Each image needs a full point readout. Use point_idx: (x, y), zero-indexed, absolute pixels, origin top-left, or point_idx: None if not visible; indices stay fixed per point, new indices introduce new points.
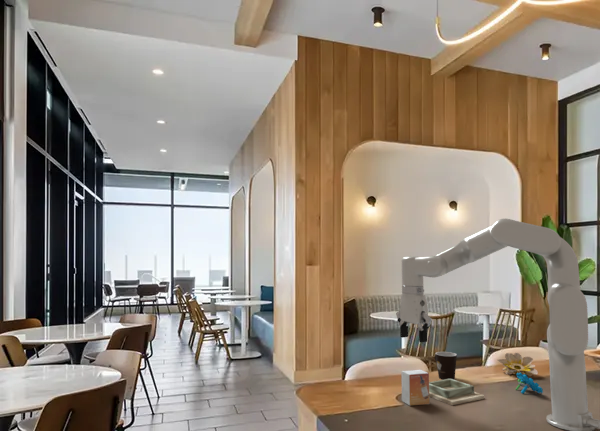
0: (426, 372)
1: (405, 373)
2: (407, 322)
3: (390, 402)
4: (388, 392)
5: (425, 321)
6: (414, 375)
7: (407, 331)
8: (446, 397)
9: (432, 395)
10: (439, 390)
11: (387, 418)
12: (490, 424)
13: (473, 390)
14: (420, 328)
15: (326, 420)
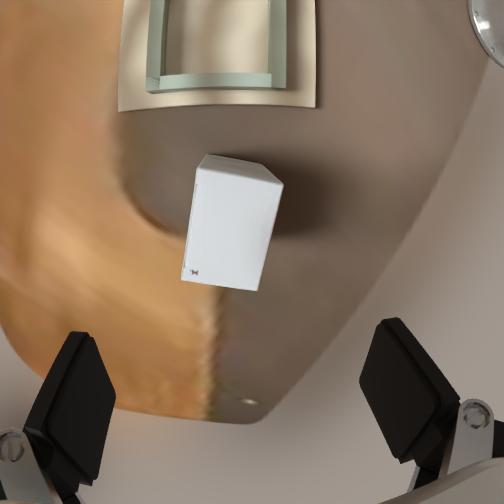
0: (268, 186)
1: (221, 285)
2: (59, 497)
3: None
4: (97, 214)
5: (491, 492)
6: (264, 264)
7: (75, 385)
8: (276, 90)
9: (213, 104)
10: (240, 87)
11: (289, 340)
12: (446, 152)
13: None
14: (422, 471)
15: (234, 421)
